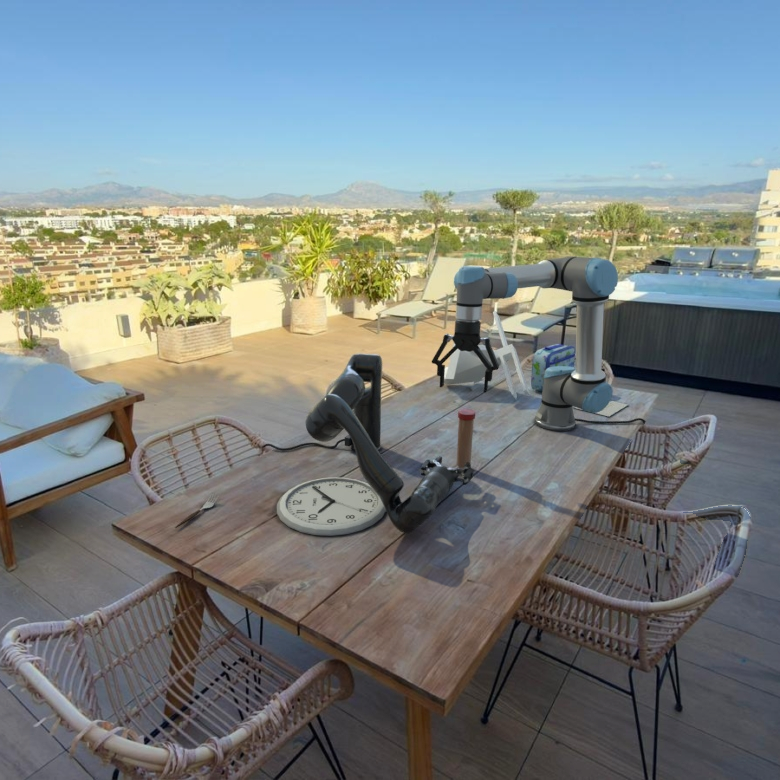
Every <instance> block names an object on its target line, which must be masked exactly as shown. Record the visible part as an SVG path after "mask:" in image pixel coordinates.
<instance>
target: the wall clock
mask: <svg viewBox="0 0 780 780" xmlns="http://www.w3.org/2000/svg"><path fill="white" fill-rule="evenodd" d="M386 513H387V511H386V509H385V507H384V505H383V503H382V501H381V499H380V497H379V496H378V495H377V493H375V491H374V490H373V489H372V488H371V487H370V485H369V484H368V483H367V482H366V481H362V480H359V479H355V478H349V477H338V476H337V477H335V476H333V477H332V476H331V477H322V478H317V479H312V480H307V481H305V482H302V483H299V484H297V485H295V486H293V487H292V488H290V489H288V490H287V491H286V492H285V493H284V494H283V495H281V496H280V498H279V499H278V502H277V503H276V515H277V517H278V518H279V520H280V521H281V522H282V523H283V524H285V525H286V526H287V527H288V528H290V529H293V530H295V531H297V532H299V533H303V534H308V535H312V536H327V537H328V536H329V537H331V536H332V537H333V536H342V535H350V534H352V533H356V532H361V531H363V530H366V529H368V528H369V527H372V526H373V525H375V524H376V523H378V522H379V521H380V520H381V519H382V518H383V517H384V516H385V514H386Z"/></svg>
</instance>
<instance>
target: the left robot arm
mask: <svg viewBox="0 0 780 780" xmlns="http://www.w3.org/2000/svg"><path fill="white" fill-rule="evenodd" d="M382 377H383V359H382V356H381V354H375V353H354V354H352V356H350V358H349V360H348V362H347V364H346V365H345V367H344V369H343V370H342V372H341V373H340V374H339V376H338V377H336V379H335V380H334V382H333V383H332V384H331V385H330V387H329V389H328V391H327V392H326V393H325V395H324V396H323V397H322V398H321V399H320V400H319V401H318V402H317V403H316V405H314V407H313V408H312V409H311V410H310V411H309V412H308V414H307V415H306V417H305V428H306V432H307V433H308V434H309V435H310V437H311V438H313V439H314V440H316V441H318V442H322V443H326V442H327V443H328V442H330V441H332V440H334V439H335V438H336V437H337V436H339V434H340V433H342V431H343V430H344V431H345V432H346V433H347V435H345V436H344V438H342V439H339V440H337V441H336V443H335V444H334V445H331V446H329V445H324V444H321V443H317V442H304V443H301V444H297V445H294V446H292V447H284V448H283V447H278V446H276V445H274V444H272V443H265V444H263V445H262V446H261V448H262V449H263V448H264V449H265V448H266V447H270V448H273V449H275V450H276V451H277V450H278V451H282V452H283V451H290V450H295V449H298V448H301V447H305V446H318V447H320V448H323V449H325V448H326V449H335V448H337V447H338V445H339V444H341V443H342V442H344V447H350V449H351V450H353V451H355V455H356V459H357V464H358V468H359V471H360V473H361V476H362V478H363V479H364V481H365V482H366V483H368V484H369V485H370V487H371V488H372V489H373V490H374V491H375V493H377V495H378V496H379V497H380V499H381V501H382V503H383V505H384V507H385V509H386V513H387V516H388V518H389V520H390V522H391V524H392V525H393V526H394V528H395V529H397V531H399V532H401V533H403V534H411V533H414V532H415V531H416V530H417V529H418V528H419V527H421V526H422V525H423V524H424V523H426V522H427V521H428V520H429V519H430V518H431V517H432V516H433V515H434V514H435V512H436V511H435V510H436V508H437V506H438V505H439V504H440V502H441V501H442V500H443V499H444V498H445V497H446V496H447V494H448V493H449V491H450V490H451V489H452V488H453V486H454V484H455V483H457V482H461V484H462V485H463V486H467V485H468V484H469V482H471V480H472V479H473V478H474V469H473V468H471V467H472V464H470V462H467V463H466V464H465V465H464V467H461V468H460V467H459V466H458V467H456V466H453V467H449V466H445V465H441V464H443V456H438V457H436V458H435V459H433V460H432V461H431V460H430V459H426V460H425V461H424V462H423V464H422V465H421V466H420V476H423V478H421V480H420V481H419V484H418V485H416V486H415V488H414V489H413V490H412V492H411V494H410V495H409V496H408V497H407V498H406V499H405V500H404V501H402V500H401V497H400V493H401V491H402V490H403V488H404V486H405V483H404V481H403V479H402V478H401V477H400V475H398V473H397V472H396V470H394V468H393V467H392V466H391V465H390V464H389V462H388V461H387V460H386V459H385V457H383V455H382V454H381V452H380V450H381V447H382V446H381V436H382V435H381V427H382V425H381V423H382V422H381V419H382V417H381V416H382V379H383V378H382ZM365 383H370V385H369V386H367V387H366V384H365ZM462 471H463V472H462Z"/></svg>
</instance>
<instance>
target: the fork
mask: <svg viewBox="0 0 780 780" xmlns="http://www.w3.org/2000/svg"><path fill="white" fill-rule="evenodd" d="M219 496H220V494H218V493H213V492H212V493H211V494H210V497H208V500H207V501H206V502H205V503H204V504H203V505H202V507H201V508H200V509H198V510H196V511H194V512H193V513H191V514H189V515H188V516H187V517H185V518H184V519H183V520H182V521H181V522H179V523H178V524H177V525H175V527H174V528H175V529H177V528H179V527H180V526H182V525H184V524H185V523H187V522H189V521H190V520H192V519H194V517H196V516H197V515H198V514H199V513H201V511H203V510H204V509H210V508H212V507H213V506H214V505H215V504H216V502H217V500H218V498H219Z"/></svg>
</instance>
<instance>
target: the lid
mask: <svg viewBox="0 0 780 780" xmlns="http://www.w3.org/2000/svg"><path fill="white" fill-rule="evenodd" d="M457 418H458V420H459V419H462V420H473V419H474V420H475V419H476V411H475V410H473V409H469V408H462V409H459V410H458V411H457Z"/></svg>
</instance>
